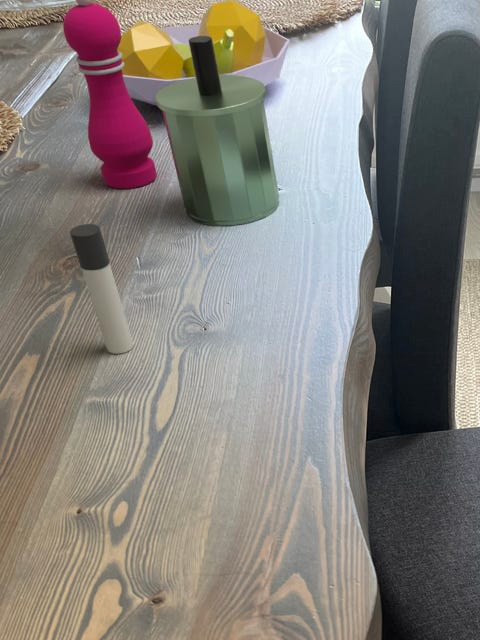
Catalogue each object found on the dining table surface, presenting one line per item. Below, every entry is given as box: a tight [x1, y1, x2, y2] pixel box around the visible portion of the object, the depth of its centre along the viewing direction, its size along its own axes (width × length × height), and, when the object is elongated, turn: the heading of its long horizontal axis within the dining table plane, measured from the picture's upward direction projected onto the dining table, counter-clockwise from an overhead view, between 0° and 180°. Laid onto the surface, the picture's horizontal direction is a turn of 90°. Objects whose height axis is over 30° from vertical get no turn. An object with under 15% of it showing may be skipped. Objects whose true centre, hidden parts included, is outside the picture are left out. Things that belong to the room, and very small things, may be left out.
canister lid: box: [155, 36, 267, 116], centre depth 106 cm, size 12×12×6 cm
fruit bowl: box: [117, 0, 291, 107], centre depth 139 cm, size 28×27×11 cm
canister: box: [161, 99, 280, 227], centre depth 112 cm, size 11×11×12 cm
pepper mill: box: [62, 0, 158, 190], centre depth 115 cm, size 7×7×20 cm
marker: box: [69, 223, 134, 355], centre depth 89 cm, size 2×2×11 cm
